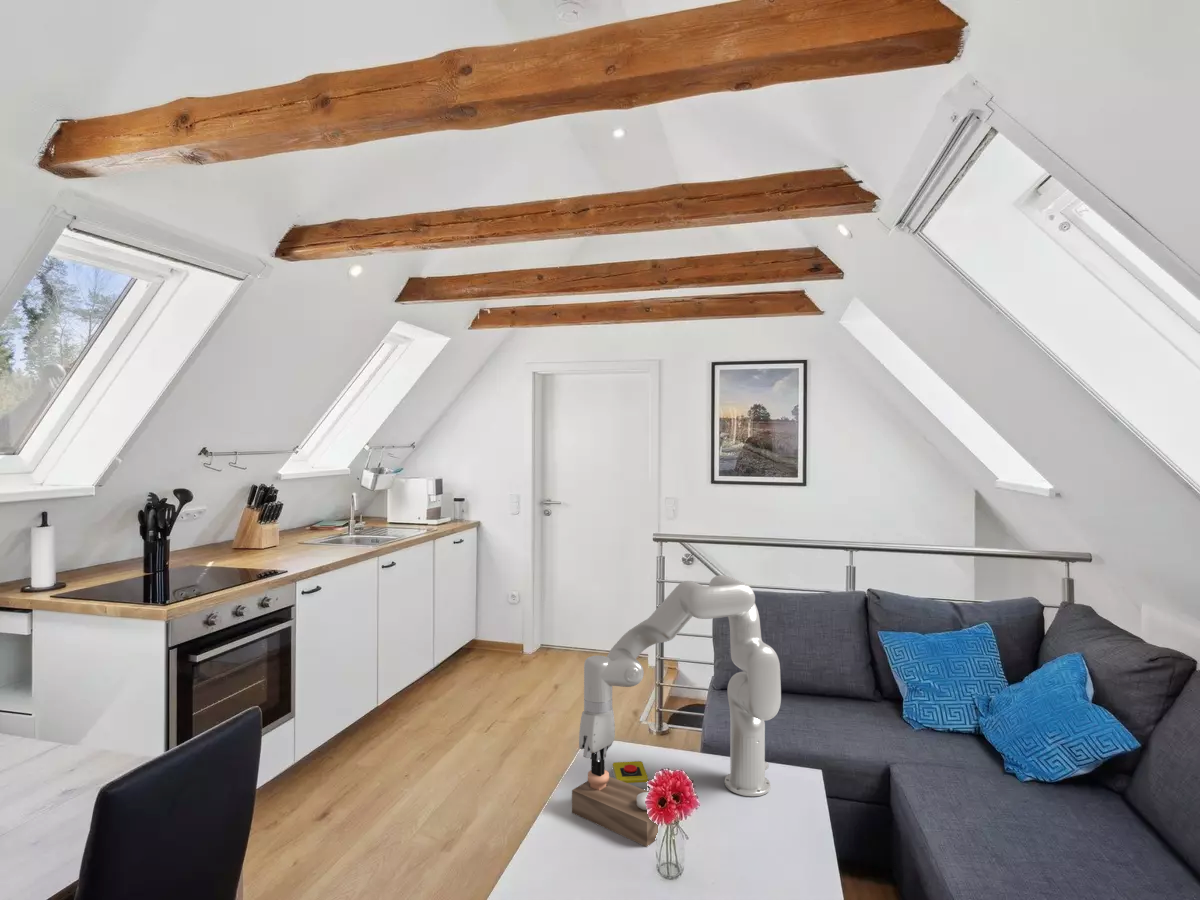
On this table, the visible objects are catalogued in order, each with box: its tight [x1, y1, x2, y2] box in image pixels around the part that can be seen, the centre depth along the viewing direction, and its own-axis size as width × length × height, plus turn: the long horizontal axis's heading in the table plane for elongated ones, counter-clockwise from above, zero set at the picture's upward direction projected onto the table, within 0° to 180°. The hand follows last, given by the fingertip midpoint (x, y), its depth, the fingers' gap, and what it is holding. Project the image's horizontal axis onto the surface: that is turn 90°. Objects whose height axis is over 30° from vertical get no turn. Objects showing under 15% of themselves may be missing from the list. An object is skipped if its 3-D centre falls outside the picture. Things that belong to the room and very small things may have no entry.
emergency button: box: [611, 760, 649, 791], centre depth 195 cm, size 9×4×15 cm
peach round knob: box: [587, 769, 610, 791], centre depth 179 cm, size 6×6×8 cm
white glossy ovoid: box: [637, 791, 650, 810], centre depth 169 cm, size 6×6×8 cm
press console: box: [571, 775, 658, 847], centre depth 174 cm, size 12×24×6 cm, turn 51°
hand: (597, 773), depth 179 cm, fingers closed
